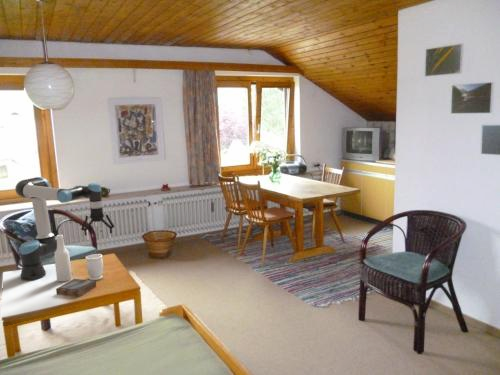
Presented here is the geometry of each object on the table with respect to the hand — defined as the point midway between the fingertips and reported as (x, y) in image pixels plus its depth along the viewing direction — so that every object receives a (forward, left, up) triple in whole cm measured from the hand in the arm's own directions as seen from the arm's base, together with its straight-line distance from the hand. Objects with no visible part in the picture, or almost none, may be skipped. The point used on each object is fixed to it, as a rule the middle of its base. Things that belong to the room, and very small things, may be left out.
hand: (99, 239), depth 280 cm
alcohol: (-21, -10, -26) cm, 35 cm away
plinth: (-1, -23, -26) cm, 35 cm away
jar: (-2, -3, -26) cm, 26 cm away
